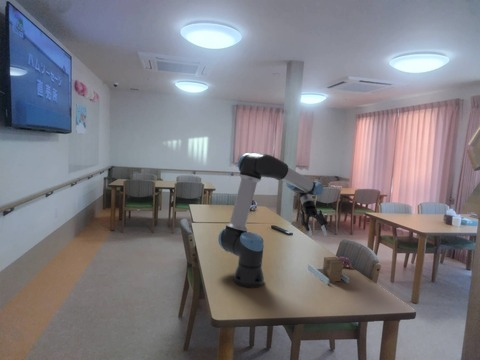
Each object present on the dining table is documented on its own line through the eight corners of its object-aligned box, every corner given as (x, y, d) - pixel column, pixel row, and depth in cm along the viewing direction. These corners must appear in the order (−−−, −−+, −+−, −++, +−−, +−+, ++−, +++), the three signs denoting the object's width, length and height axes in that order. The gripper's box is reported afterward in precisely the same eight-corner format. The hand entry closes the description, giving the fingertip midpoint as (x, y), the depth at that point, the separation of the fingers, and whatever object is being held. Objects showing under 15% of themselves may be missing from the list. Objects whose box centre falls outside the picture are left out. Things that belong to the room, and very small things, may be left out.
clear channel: (307, 269, 175) (308, 264, 175) (327, 268, 179) (327, 263, 178) (327, 284, 156) (327, 279, 156) (348, 283, 160) (349, 278, 159)
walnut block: (322, 276, 166) (324, 257, 165) (333, 276, 168) (335, 256, 167) (329, 282, 159) (331, 262, 158) (340, 281, 161) (343, 261, 160)
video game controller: (349, 269, 184) (348, 257, 187) (352, 268, 180) (351, 256, 182) (333, 268, 184) (332, 256, 186) (336, 267, 179) (335, 255, 182)
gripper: (320, 207, 197) (331, 238, 183) (289, 206, 190) (299, 239, 177) (326, 200, 191) (338, 232, 178) (294, 199, 185) (304, 232, 171)
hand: (318, 235), depth 177 cm, fingers open, 9 cm apart
